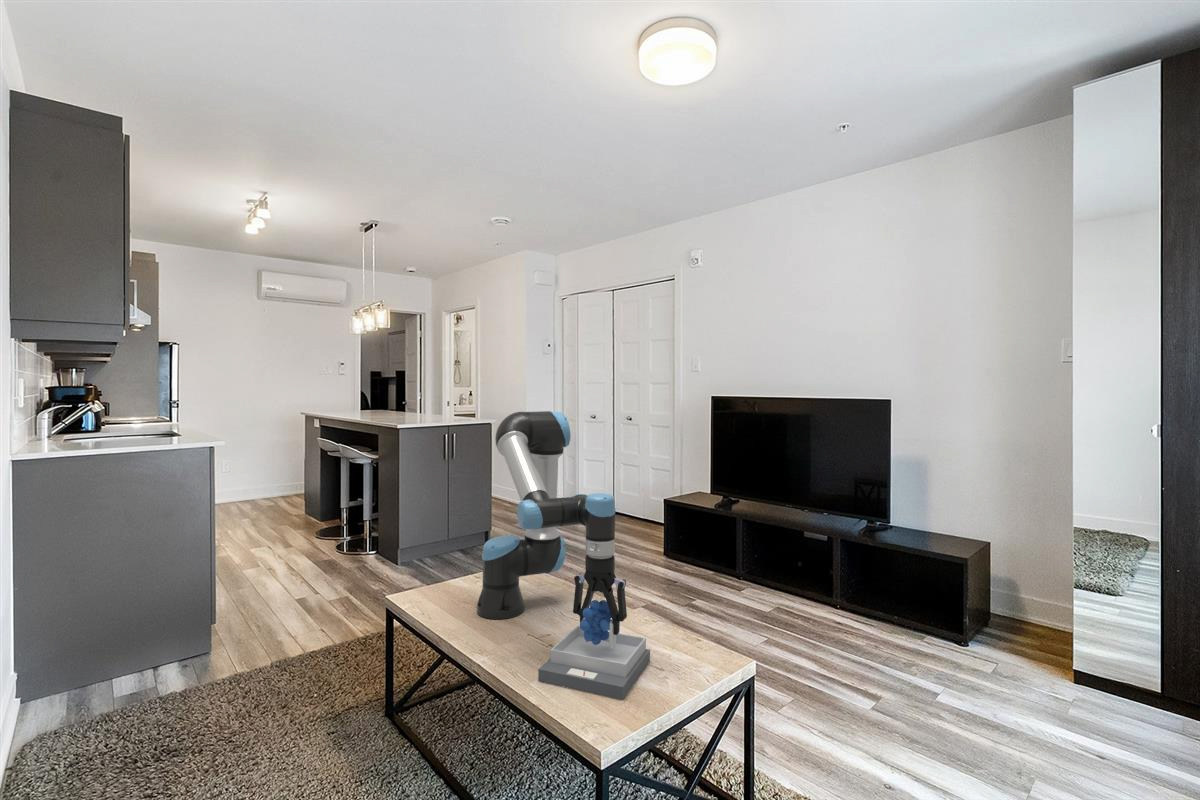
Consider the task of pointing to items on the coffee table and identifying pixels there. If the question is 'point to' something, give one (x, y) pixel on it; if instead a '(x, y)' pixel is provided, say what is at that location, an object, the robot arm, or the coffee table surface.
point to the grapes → (596, 622)
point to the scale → (596, 664)
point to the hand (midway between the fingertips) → (599, 643)
